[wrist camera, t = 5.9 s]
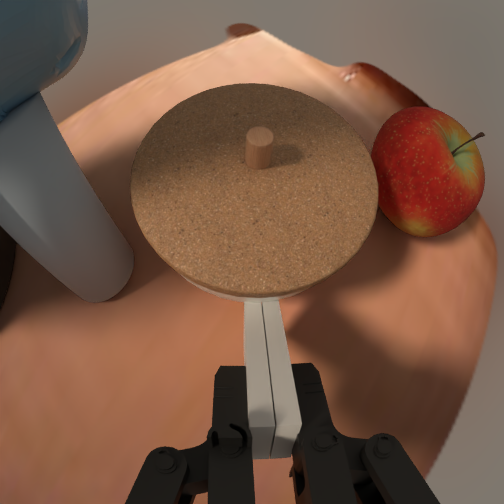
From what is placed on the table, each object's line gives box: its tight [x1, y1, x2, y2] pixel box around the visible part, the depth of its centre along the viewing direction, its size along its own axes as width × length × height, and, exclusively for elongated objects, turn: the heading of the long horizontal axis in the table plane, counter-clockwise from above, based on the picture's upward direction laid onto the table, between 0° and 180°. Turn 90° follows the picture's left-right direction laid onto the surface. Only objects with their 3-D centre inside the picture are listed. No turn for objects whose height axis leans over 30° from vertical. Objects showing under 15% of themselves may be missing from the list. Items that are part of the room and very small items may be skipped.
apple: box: [371, 107, 485, 237], centre depth 16 cm, size 8×8×10 cm
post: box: [0, 92, 134, 303], centre depth 12 cm, size 5×5×12 cm
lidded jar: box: [130, 83, 378, 303], centre depth 14 cm, size 11×11×9 cm
